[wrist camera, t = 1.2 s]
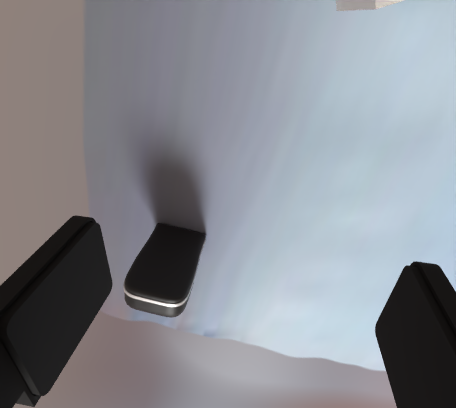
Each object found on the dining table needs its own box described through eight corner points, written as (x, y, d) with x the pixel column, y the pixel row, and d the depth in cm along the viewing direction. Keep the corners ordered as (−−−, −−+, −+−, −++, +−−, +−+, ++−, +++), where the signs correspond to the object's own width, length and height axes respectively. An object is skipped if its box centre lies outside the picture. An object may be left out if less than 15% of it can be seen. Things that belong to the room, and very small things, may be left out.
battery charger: (154, 242, 41) (117, 311, 32) (156, 220, 39) (116, 287, 30) (204, 254, 41) (181, 327, 32) (208, 233, 39) (185, 304, 30)
